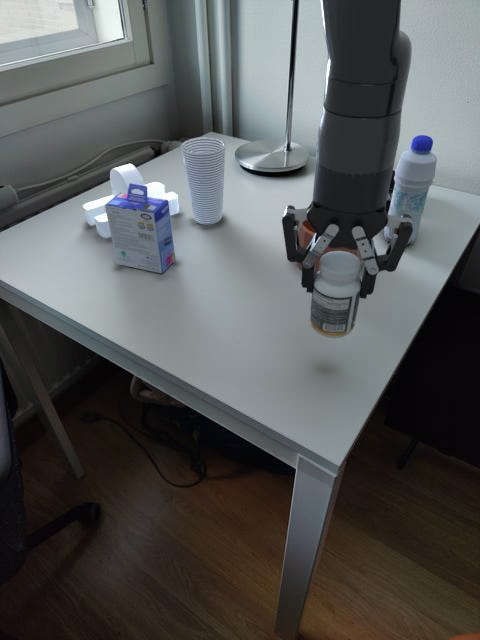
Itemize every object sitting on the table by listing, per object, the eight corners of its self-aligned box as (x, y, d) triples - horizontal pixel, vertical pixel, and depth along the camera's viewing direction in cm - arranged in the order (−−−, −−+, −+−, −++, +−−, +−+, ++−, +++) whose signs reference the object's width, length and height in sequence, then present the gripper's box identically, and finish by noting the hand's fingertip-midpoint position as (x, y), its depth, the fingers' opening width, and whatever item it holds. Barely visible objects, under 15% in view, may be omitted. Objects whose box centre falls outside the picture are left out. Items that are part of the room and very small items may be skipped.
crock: (363, 244, 89) (370, 206, 84) (362, 282, 80) (370, 243, 75) (298, 238, 91) (301, 200, 86) (290, 274, 82) (293, 235, 77)
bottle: (388, 227, 94) (411, 126, 80) (421, 237, 91) (450, 134, 77) (375, 242, 90) (396, 138, 76) (409, 253, 87) (437, 146, 73)
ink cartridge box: (177, 258, 87) (168, 185, 77) (163, 275, 83) (152, 200, 73) (131, 249, 89) (116, 178, 80) (116, 264, 85) (99, 191, 76)
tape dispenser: (85, 220, 98) (72, 171, 91) (159, 195, 106) (153, 149, 99) (104, 239, 92) (91, 188, 85) (181, 211, 100) (176, 163, 93)
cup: (204, 232, 93) (198, 157, 83) (180, 217, 98) (171, 144, 88) (236, 218, 98) (234, 145, 87) (211, 204, 102) (206, 133, 92)
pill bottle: (327, 305, 63) (335, 242, 56) (363, 324, 60) (375, 260, 53) (300, 325, 60) (305, 261, 53) (336, 347, 57) (346, 282, 50)
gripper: (276, 166, 43) (272, 304, 55) (436, 175, 41) (399, 318, 52) (287, 137, 49) (281, 268, 60) (429, 144, 46) (396, 279, 57)
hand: (336, 291), depth 56 cm, fingers closed on pill bottle, 5 cm apart
